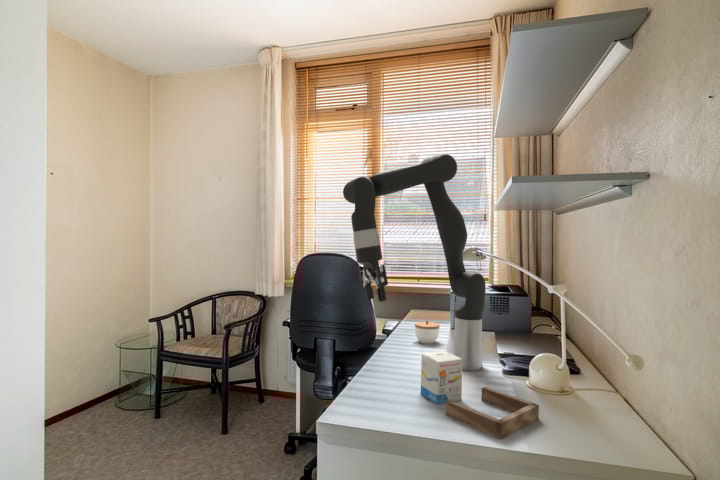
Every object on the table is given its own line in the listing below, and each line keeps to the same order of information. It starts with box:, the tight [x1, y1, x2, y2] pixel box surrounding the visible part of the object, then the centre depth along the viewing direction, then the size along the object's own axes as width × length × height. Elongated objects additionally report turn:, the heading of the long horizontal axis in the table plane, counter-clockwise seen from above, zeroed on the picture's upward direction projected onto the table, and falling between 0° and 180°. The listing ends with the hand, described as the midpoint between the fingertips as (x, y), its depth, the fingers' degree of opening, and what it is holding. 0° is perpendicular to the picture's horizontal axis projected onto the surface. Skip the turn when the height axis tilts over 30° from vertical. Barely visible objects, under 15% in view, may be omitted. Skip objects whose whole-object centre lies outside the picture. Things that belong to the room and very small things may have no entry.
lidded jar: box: [414, 319, 440, 344], centre depth 176 cm, size 11×11×9 cm
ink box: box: [419, 351, 463, 405], centre depth 114 cm, size 9×8×12 cm
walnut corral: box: [445, 386, 540, 440], centre depth 101 cm, size 17×16×4 cm
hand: (376, 300), depth 118 cm, fingers open, 8 cm apart
